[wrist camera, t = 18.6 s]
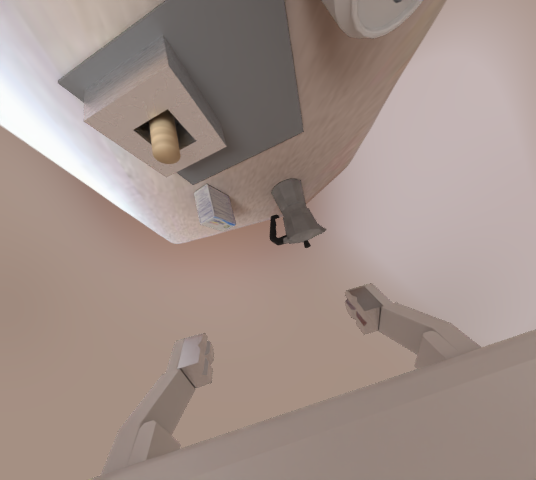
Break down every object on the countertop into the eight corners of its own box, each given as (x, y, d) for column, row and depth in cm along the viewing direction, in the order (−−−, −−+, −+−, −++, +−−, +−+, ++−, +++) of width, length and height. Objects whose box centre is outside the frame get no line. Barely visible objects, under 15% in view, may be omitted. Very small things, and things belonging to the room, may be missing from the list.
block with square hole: (84, 89, 21) (83, 121, 20) (163, 34, 19) (168, 65, 18) (163, 153, 32) (166, 177, 30) (220, 122, 29) (226, 146, 28)
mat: (58, 80, 20) (57, 82, 20) (271, -78, 15) (272, -76, 15) (192, 183, 41) (193, 184, 41) (302, 130, 36) (303, 131, 36)
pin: (141, 103, 24) (146, 151, 22) (160, 92, 24) (168, 140, 21) (159, 123, 27) (166, 167, 25) (177, 113, 26) (185, 157, 24)
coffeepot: (313, 174, 50) (339, 235, 45) (302, 194, 59) (323, 247, 54) (257, 183, 47) (278, 249, 42) (255, 203, 56) (272, 260, 50)
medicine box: (192, 192, 44) (199, 225, 41) (207, 182, 42) (214, 216, 39) (216, 203, 51) (223, 232, 48) (229, 195, 49) (236, 225, 46)
